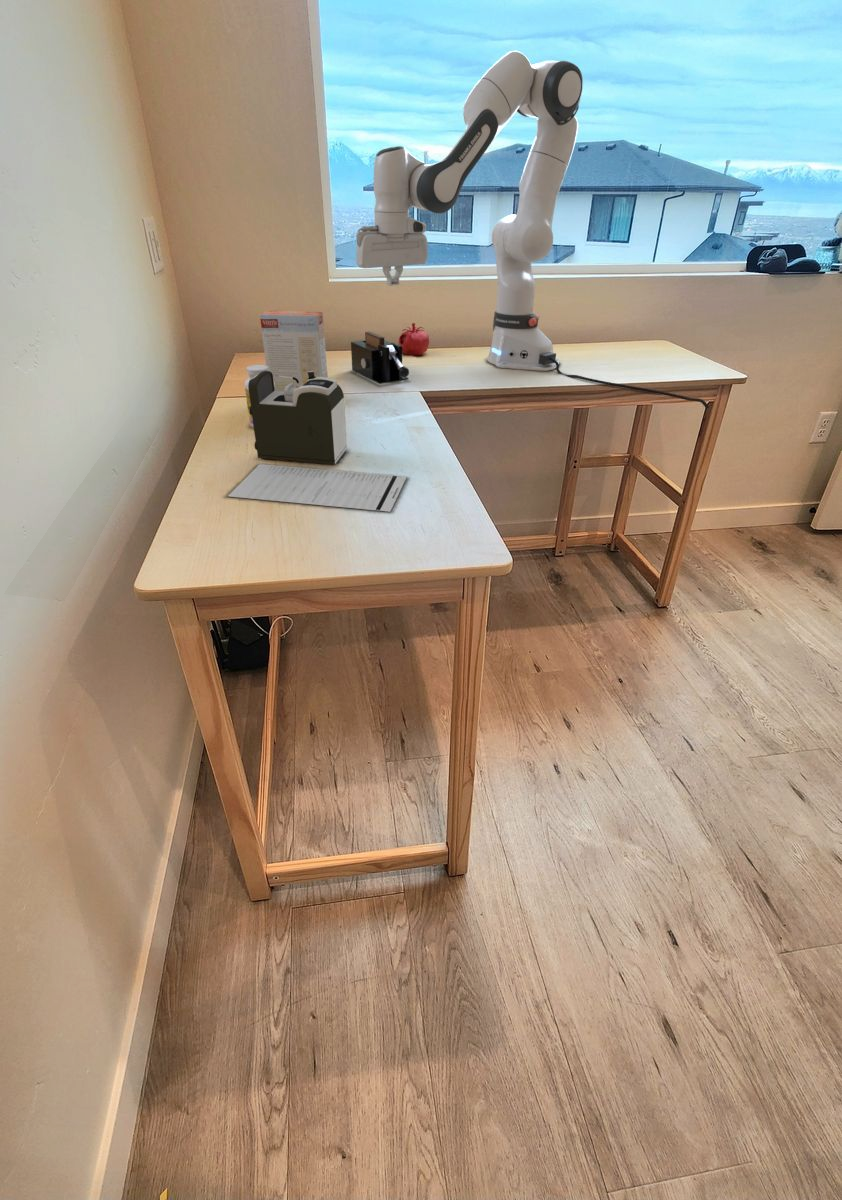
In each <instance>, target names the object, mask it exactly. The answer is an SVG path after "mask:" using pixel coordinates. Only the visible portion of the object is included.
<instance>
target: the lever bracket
mask: <svg viewBox="0 0 842 1200" xmlns="http://www.w3.org/2000/svg"><path fill="white" fill-rule="evenodd" d="M390 343H391V345H393V347H394V348H395V349H396V351H397V353H396V357H397V358H398V359H399V361H400V362H401V364H402V365H403V352H402V346H401V345H399V343H396V342H390ZM378 350H379V378H377V379H372V380H371V381H373V382H375V383H377V384H380V385H381V384H387V383H393V382H400V381H406V380H409V377H408V376H407V377H404V378H403V377H401V376H400V375H399V369H398V368H397V366H396V365H395V363H394V362H393V360H392V359H391V368H392V376H390V359H389V347H387V346H384V345H382V344H380V345H378Z"/></svg>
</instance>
